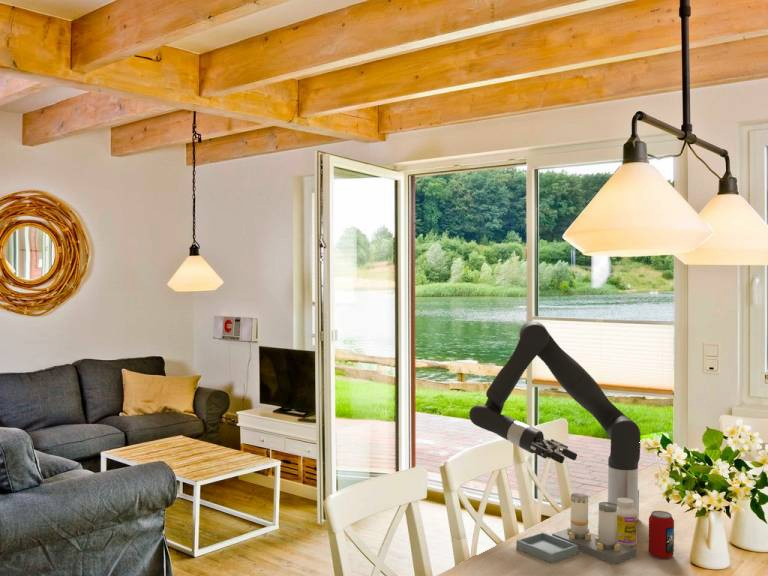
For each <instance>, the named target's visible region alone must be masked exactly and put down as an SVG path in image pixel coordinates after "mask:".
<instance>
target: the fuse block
mask: <svg viewBox="0 0 768 576" xmlns="http://www.w3.org/2000/svg"><path fill="white" fill-rule="evenodd" d="M570 529H571V526H569V527H567V528H566V529H562V530H559V531H557V532H556V531H555V532H552V533H551V535H552V536H554V537H557V538H560V539H562V540H565V541H568V542H570V543H573V544H575V545H578V552H582V553H584V554H587V555H589V556H592V557H593V558H594V557H595V558H597V559H599V560H603V561H605V562H607V563H610V564H613V565H616V564H618V562H619V563H621V562H623V561H626V559H627V560H630V559H632V558H635V557H636V556H637V549H636V548H634V547H632V546H626V545H624V544H621V543H618V539H617V544H615V545H614V549H613V550H607V549H603V544H601V543H598V534H596V533H592V532H590V529H589V528H588V534H585V539H576V538H575V534H574V533H571V532H570ZM615 563H616V564H615Z"/></svg>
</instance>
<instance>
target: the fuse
mask: <svg viewBox="0 0 768 576" xmlns="http://www.w3.org/2000/svg"><path fill="white" fill-rule="evenodd" d="M597 526H598V527H597V529H598V531H597V532H598V534H597V535H598V543H601V544H603V549H607V550H613V549H614V545H615V544H617V505H616V504H614V503H611V502H608V501H602V502H599V503H598V525H597Z"/></svg>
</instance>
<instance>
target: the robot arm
mask: <svg viewBox="0 0 768 576" xmlns="http://www.w3.org/2000/svg"><path fill="white" fill-rule="evenodd" d="M517 342H518V343H517V345H516V347H515V350H514V351H513V353H512V354H511V356H510V357H509V359H508V360H507V362H506V363H505V364H504V365H503V367H502V368H501V369H500V370H499V372H498V373H497V375H495V377H494V379H493V381H492V382H491V384H490V385H489V387H488V389H487V390H486V392H485V395H486V398H487V399H486V401H485V404H484V405H483V404H476V405H474V406H472V407H471V408H470V410H469V413H468V414H469V415H468V416H469V417H468V418H469V420H470V421H471V422H472V424H474V426H476V427H479V428H481V429H483V430H486V431H487V432H491V433H494V434H495V435H497V436H499V437H501V438H503V439H504V440H507V441H509V442H510V443H511V444H513V445H515V446H516V447H518V448H521V449H522V450H525V451H527V452H528V453H530V454H535V455H538V456H539V457H541V458H543V459H549V460H553V461H555V462H557V463H558V464H559V463H560V464H563V463H565V462H564V461H565V458H567V459H569V460H572V461H577V457H578V454H577V453H576V452H574V451H572V450H570V449H568V448H569V446H568V445H566V444H564V443H561V442H559V441H557V440H555V439H553V438H551V439H545V438H544V436H545V435H544V432H543V431H542V430H539V429H538V428H535V427H533V426H531V425H530V424H527V423H525V422H523V421H519V420H516V419H515V418H513V417H510V416H508V415H505V414H502V413H503V409H504V406H505V403H506V401H507V400H508V398H509V397H510V395H511V394H512V392H513V390H514V389H515V388H516V386H517V384H518V382H519V381H520V380H521V378H522V376H523V375H524V373H525V371H526V370H527V369H528V367H529V365H530V364H531V363H532V362H533V360H534V359H535V358H536V357H538V358H539V359H540V360H541V361H542V362H543V363H544V364H545V366H546V367H547V368H548V369H549V371H550V373H551V374H552V375H553V377H554V378H555V379H556V381H557V382H558V383H559V385H560V386H561V387H562V388H563V389H564V390H565V391H566V393H568V395H569V396H570V397H571V398H572V399H573V400H574V401H575V402H576V403H578V404H579V406H581V407H582V408H583V409H585V410H586V411H587V412H588V413H590V414H591V415H592V416H593V418H594V419H595V420H596V421H597V422H598V423H599V425H600V426H601V427H602V429H603V430H604V431H605V433H606V434H607V435H608V437H609V439H610V453H609V456H608V458H607V460H608V461H607V463H608V464H607V502H611V503H614V504H616V505H617V506H618V504H617V499H618V498H629V499H632V500H633V501H634V505H633V508H634V509H635V510H636V512H637V520H639V519H640V489H639V485H638V484H639V462H640V457H641V442H640V440H641V437H642V436H641V430H640V428H639V425H638V424H637V423H636V422H635V421H633V419H631V418H630V417H629V416H627V415H625V413H623V412H622V411H621V410H620V409H618V407H616V406H615V405H614V404H613V403H612V402H611V401H610V400H609V398H608V397H607V396H606V394H605V393H604V391H603V389H602V388H601V387H600V385H599V384H598V382H596V380H595V379H594V378H593V377H592V375H590V373H588V371H587V370H586V369H585V368H584V367H582V366H581V365H580V364H579V362H578V361H577V360H575V359H574V358H573V357H572V356H570V355H569V354H568V353H567V352H566V351H565V350H564V349H563V348H561V347H560V346H559V344H558V343H557V342H556V341H555V339H554V338H553V337H552V335H551V334H550V333H549V331H548V330H547V328H546V327H545V325H544V324H542V323H540V322H538V321H527V322H526V323H524V324H523V325H522V326H521V328H520V330H519V340H518V341H517ZM639 442H640V443H639Z"/></svg>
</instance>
